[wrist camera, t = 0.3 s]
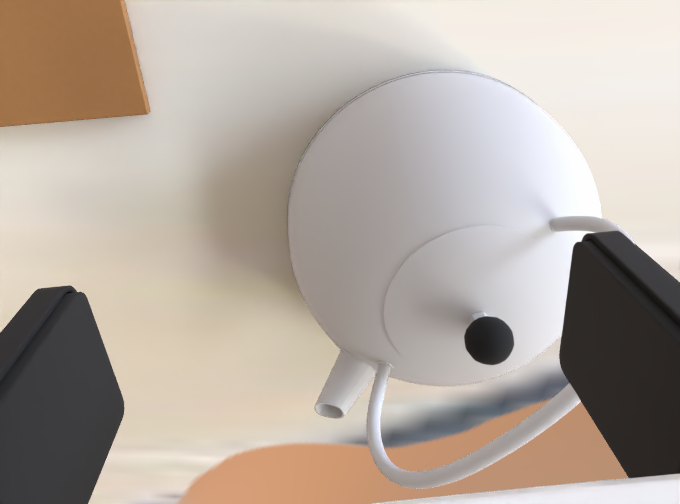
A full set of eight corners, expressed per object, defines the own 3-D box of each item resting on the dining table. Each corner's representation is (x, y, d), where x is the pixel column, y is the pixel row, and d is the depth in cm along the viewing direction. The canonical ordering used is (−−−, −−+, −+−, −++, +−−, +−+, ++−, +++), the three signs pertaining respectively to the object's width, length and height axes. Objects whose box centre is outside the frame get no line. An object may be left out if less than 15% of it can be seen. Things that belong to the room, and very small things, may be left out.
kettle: (406, 389, 52) (467, 656, 32) (210, 249, 44) (130, 489, 24) (629, 206, 44) (893, 409, 24) (440, -4, 36) (602, 41, 16)
